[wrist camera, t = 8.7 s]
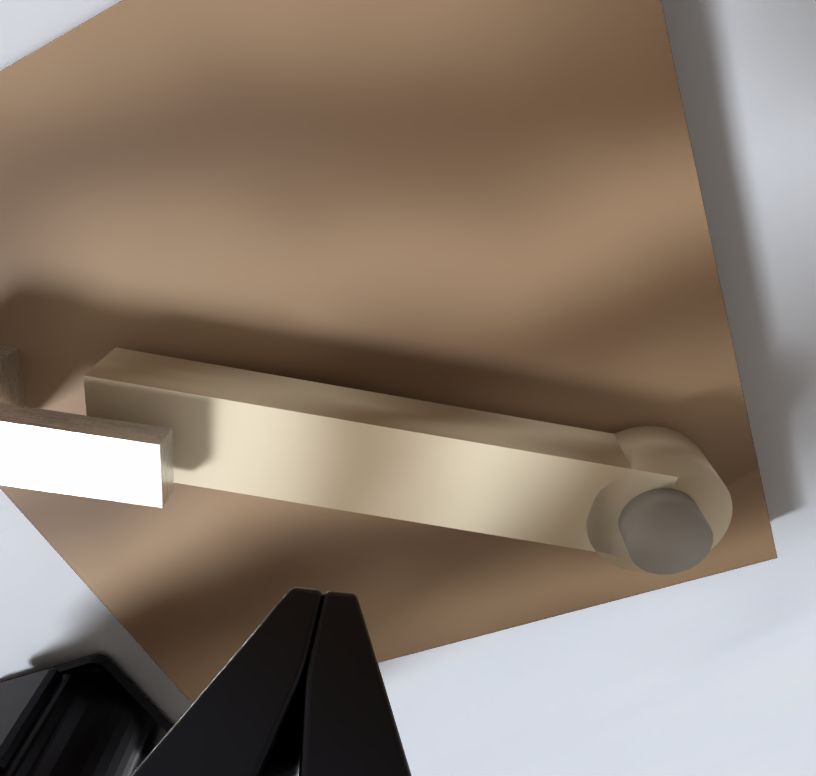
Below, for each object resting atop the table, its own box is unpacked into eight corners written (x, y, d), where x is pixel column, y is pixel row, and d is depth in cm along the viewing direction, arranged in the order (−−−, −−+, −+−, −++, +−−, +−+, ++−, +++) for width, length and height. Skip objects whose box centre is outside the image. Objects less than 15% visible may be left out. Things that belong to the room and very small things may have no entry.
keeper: (205, 376, 18) (159, 438, 15) (205, 444, 19) (163, 513, 16) (-52, 338, 18) (-151, 392, 15) (-36, 408, 19) (-126, 472, 16)
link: (728, 438, 18) (775, 497, 15) (677, 540, 20) (711, 608, 17) (114, 331, 17) (60, 375, 15) (121, 448, 19) (73, 505, 16)
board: (756, 528, 22) (777, 557, 20) (210, 677, 27) (197, 710, 25) (584, -242, 13) (602, -279, 11) (-194, 203, 18) (-245, 213, 16)
